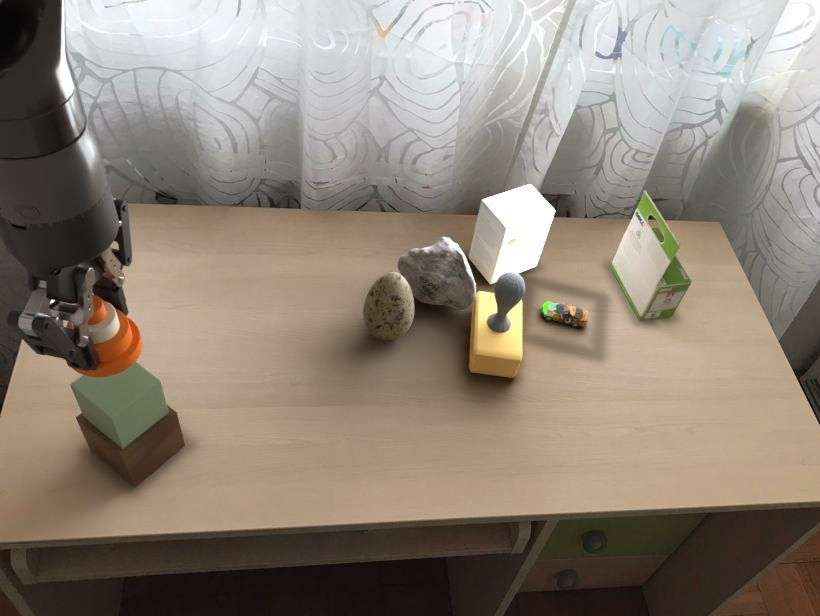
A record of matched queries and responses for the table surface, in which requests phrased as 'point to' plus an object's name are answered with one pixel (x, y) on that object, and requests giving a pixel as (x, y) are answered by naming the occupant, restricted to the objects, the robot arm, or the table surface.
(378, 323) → the decorative egg
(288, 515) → the table surface
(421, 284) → the stone
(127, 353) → the cone
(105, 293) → the robot arm
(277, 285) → the table surface
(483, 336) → the rubber stamp
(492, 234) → the small box
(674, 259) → the ink box
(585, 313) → the toy car
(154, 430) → the walnut block
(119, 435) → the sage block
